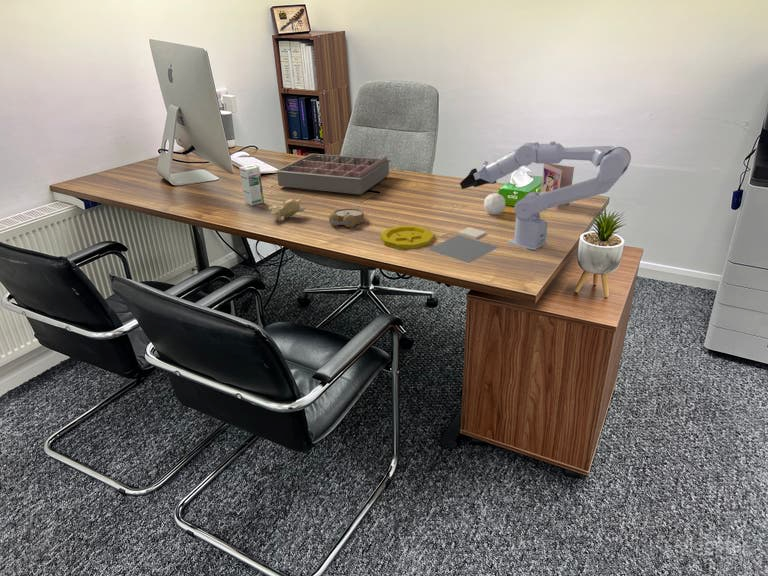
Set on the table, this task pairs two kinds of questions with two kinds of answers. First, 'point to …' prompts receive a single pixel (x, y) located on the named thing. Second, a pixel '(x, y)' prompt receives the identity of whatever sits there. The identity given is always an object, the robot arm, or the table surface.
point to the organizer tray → (334, 173)
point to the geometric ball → (494, 204)
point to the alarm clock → (346, 217)
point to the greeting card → (556, 178)
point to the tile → (472, 232)
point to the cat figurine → (286, 209)
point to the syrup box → (251, 184)
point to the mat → (463, 248)
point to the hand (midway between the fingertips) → (467, 185)
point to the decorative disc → (406, 237)
